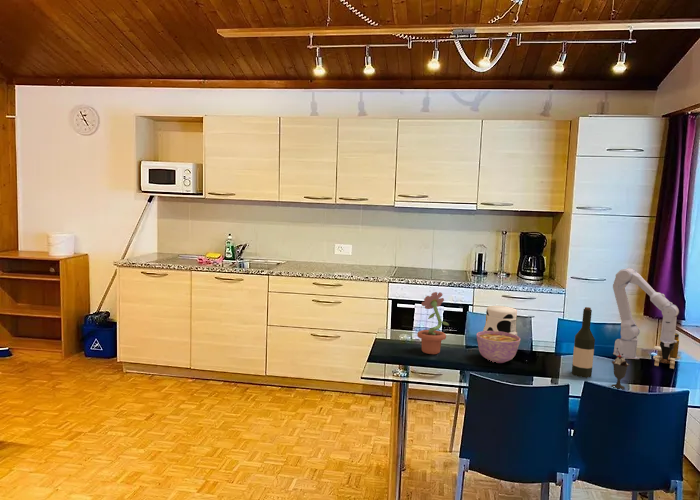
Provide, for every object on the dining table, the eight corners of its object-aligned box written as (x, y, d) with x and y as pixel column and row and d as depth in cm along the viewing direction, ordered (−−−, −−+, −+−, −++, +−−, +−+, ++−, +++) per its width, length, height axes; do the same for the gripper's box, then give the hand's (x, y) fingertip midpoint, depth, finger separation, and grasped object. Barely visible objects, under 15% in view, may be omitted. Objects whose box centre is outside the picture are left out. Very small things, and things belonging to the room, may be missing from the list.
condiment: (680, 357, 269) (683, 334, 268) (672, 360, 265) (675, 336, 263) (665, 353, 275) (668, 331, 274) (657, 355, 271) (659, 332, 269)
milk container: (480, 336, 292) (483, 304, 290) (513, 339, 290) (516, 306, 288) (484, 345, 275) (486, 311, 273) (518, 348, 273) (521, 313, 271)
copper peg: (669, 363, 253) (671, 349, 253) (663, 363, 253) (665, 348, 253) (666, 361, 256) (668, 347, 256) (660, 361, 256) (661, 347, 256)
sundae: (610, 382, 227) (614, 348, 225) (628, 386, 223) (631, 351, 221) (607, 387, 221) (611, 351, 219) (625, 391, 217) (629, 355, 216)
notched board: (673, 368, 250) (674, 363, 250) (654, 365, 254) (654, 360, 254) (674, 363, 259) (674, 358, 258) (655, 360, 263) (655, 355, 262)
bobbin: (657, 361, 261) (659, 349, 260) (650, 357, 267) (651, 345, 266) (669, 361, 261) (671, 349, 261) (662, 357, 267) (663, 346, 267)
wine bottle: (567, 371, 239) (573, 305, 236) (585, 371, 240) (591, 305, 237) (577, 377, 231) (583, 309, 228) (595, 378, 232) (602, 310, 229)
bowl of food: (521, 358, 255) (523, 334, 254) (515, 370, 237) (517, 344, 236) (479, 351, 264) (481, 328, 263) (470, 362, 246) (472, 337, 244)
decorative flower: (438, 347, 268) (442, 288, 264) (452, 355, 255) (456, 293, 251) (411, 348, 263) (415, 288, 260) (424, 357, 250) (427, 294, 247)
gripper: (678, 335, 245) (674, 363, 246) (678, 328, 257) (675, 356, 259) (660, 332, 249) (657, 360, 250) (661, 326, 261) (658, 353, 262)
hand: (665, 358), depth 255 cm, fingers closed on copper peg, 3 cm apart
